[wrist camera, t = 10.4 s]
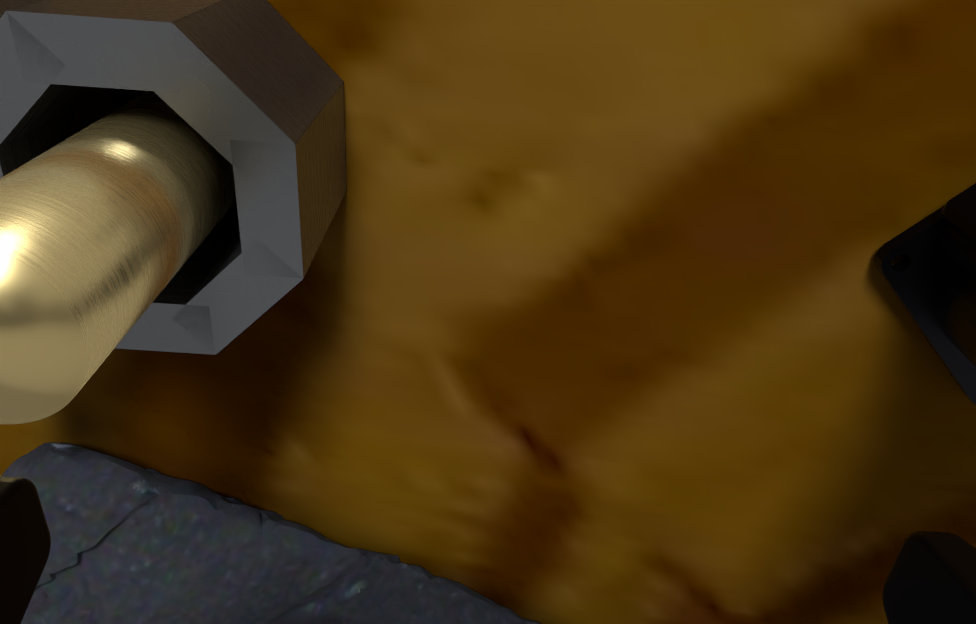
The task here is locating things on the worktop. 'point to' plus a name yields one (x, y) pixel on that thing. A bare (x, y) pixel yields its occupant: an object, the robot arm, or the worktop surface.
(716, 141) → the worktop surface
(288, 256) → the grey hollow finned part
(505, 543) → the worktop surface
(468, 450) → the worktop surface
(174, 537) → the dark slate chunk
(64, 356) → the brass pin
